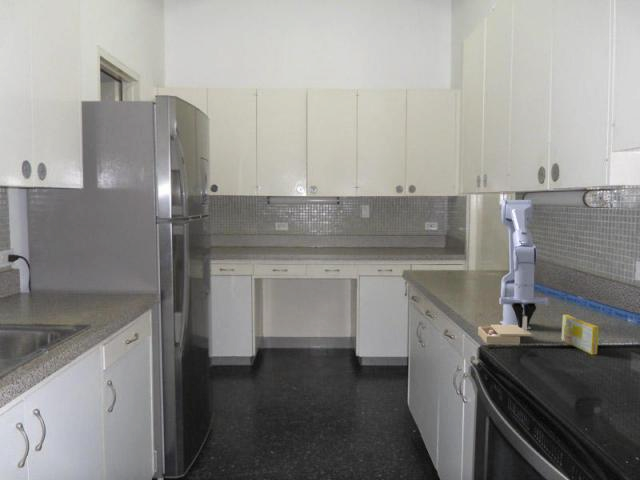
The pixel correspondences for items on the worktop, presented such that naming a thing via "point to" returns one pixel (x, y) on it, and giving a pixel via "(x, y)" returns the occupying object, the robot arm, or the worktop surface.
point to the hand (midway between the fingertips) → (523, 327)
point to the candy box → (580, 334)
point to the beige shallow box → (496, 337)
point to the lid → (513, 329)
